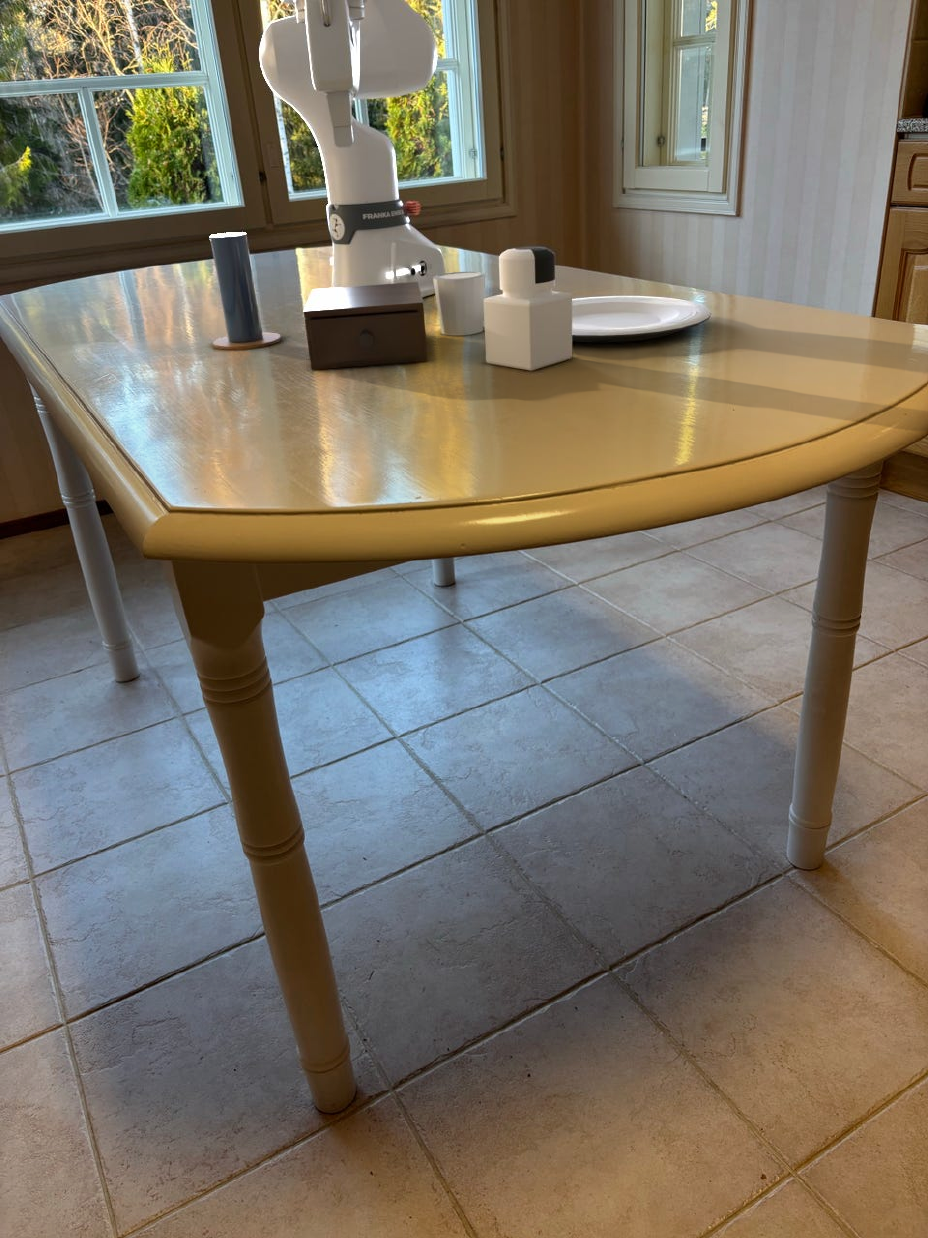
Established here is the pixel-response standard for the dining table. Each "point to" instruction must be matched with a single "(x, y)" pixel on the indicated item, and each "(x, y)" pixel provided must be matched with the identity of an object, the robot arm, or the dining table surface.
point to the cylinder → (236, 287)
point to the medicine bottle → (528, 312)
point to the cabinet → (365, 303)
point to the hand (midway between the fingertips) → (344, 146)
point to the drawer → (366, 337)
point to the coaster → (265, 341)
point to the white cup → (460, 302)
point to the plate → (632, 318)
